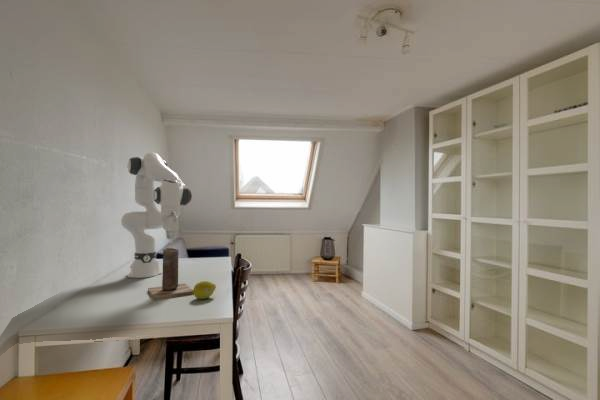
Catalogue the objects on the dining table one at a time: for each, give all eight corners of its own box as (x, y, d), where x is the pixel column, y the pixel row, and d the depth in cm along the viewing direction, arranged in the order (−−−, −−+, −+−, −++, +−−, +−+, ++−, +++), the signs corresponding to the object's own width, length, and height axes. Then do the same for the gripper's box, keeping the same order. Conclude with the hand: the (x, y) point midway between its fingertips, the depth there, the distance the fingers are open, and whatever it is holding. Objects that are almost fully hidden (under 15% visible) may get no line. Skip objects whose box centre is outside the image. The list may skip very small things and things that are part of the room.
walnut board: (148, 291, 165) (148, 288, 165) (184, 286, 175) (184, 283, 175) (154, 300, 150) (154, 296, 150) (194, 294, 159) (194, 290, 159)
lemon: (193, 302, 146) (193, 284, 146) (190, 298, 153) (190, 280, 153) (218, 299, 151) (218, 281, 151) (213, 294, 158) (213, 278, 158)
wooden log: (174, 286, 168) (174, 247, 168) (181, 289, 163) (181, 248, 163) (159, 289, 163) (159, 248, 163) (165, 292, 157) (165, 250, 157)
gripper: (182, 212, 155) (182, 241, 155) (172, 211, 172) (172, 237, 172) (168, 212, 152) (168, 242, 152) (160, 211, 169) (160, 238, 169)
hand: (170, 239), depth 162 cm, fingers open, 8 cm apart
